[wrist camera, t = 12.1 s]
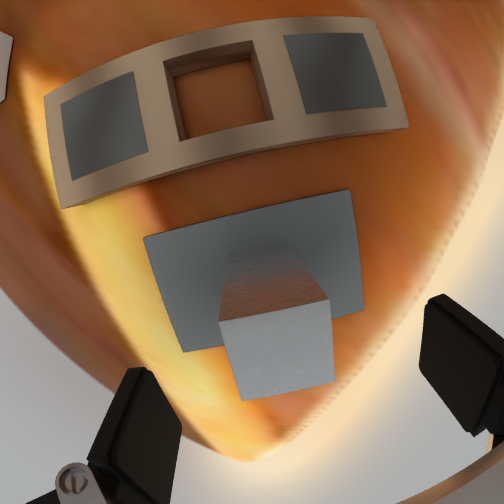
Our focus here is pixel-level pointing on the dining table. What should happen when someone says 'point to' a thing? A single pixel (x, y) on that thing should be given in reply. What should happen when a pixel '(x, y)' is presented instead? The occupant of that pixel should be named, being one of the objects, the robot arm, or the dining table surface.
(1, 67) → the milk carton
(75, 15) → the dining table surface
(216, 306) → the mat
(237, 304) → the grey rectangular block
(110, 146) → the rail
